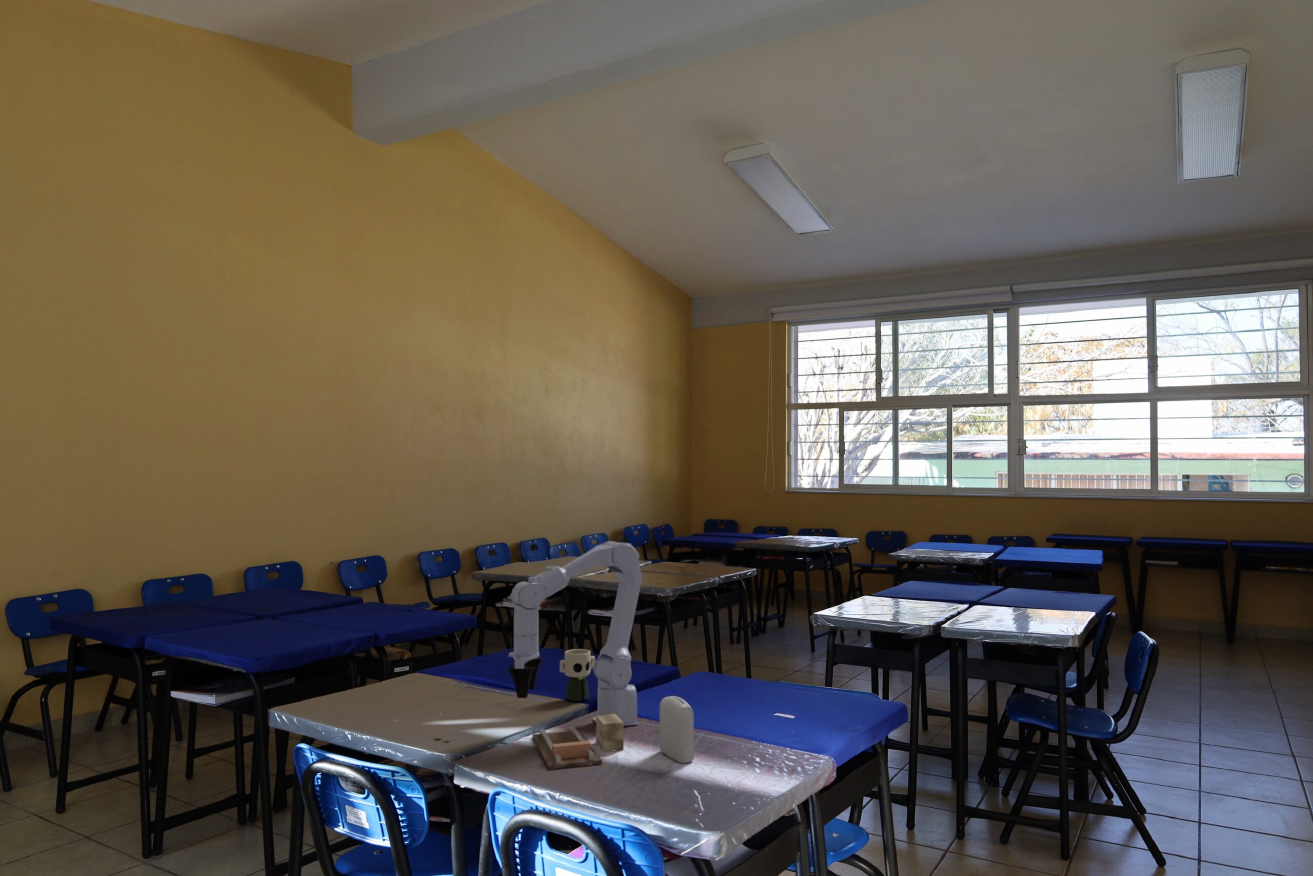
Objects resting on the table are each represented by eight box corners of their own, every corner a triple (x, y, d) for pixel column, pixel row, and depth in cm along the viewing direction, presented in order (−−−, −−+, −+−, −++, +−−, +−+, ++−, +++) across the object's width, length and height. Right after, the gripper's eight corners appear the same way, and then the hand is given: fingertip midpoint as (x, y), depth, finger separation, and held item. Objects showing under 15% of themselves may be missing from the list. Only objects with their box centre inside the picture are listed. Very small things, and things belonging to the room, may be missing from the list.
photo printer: (657, 750, 176) (657, 693, 176) (674, 748, 177) (674, 691, 178) (678, 765, 166) (678, 704, 167) (696, 762, 168) (696, 702, 169)
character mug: (566, 706, 212) (566, 656, 213) (553, 700, 218) (553, 651, 219) (601, 699, 218) (601, 651, 219) (588, 694, 224) (588, 647, 225)
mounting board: (579, 733, 188) (579, 730, 188) (601, 764, 167) (601, 760, 167) (532, 738, 184) (532, 734, 184) (549, 769, 164) (549, 765, 164)
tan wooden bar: (588, 752, 172) (588, 740, 172) (590, 755, 170) (591, 743, 170) (551, 756, 169) (552, 744, 169) (553, 759, 167) (553, 747, 168)
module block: (615, 740, 183) (615, 714, 183) (623, 750, 176) (623, 722, 176) (596, 742, 181) (596, 715, 182) (603, 752, 175) (603, 724, 175)
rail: (573, 731, 187) (573, 726, 187) (594, 760, 167) (594, 754, 167) (539, 734, 184) (539, 729, 185) (556, 764, 165) (556, 758, 165)
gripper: (516, 628, 195) (516, 685, 194) (501, 640, 180) (501, 701, 179) (545, 628, 194) (545, 685, 193) (532, 640, 180) (532, 701, 179)
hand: (526, 693), depth 186 cm, fingers open, 7 cm apart
